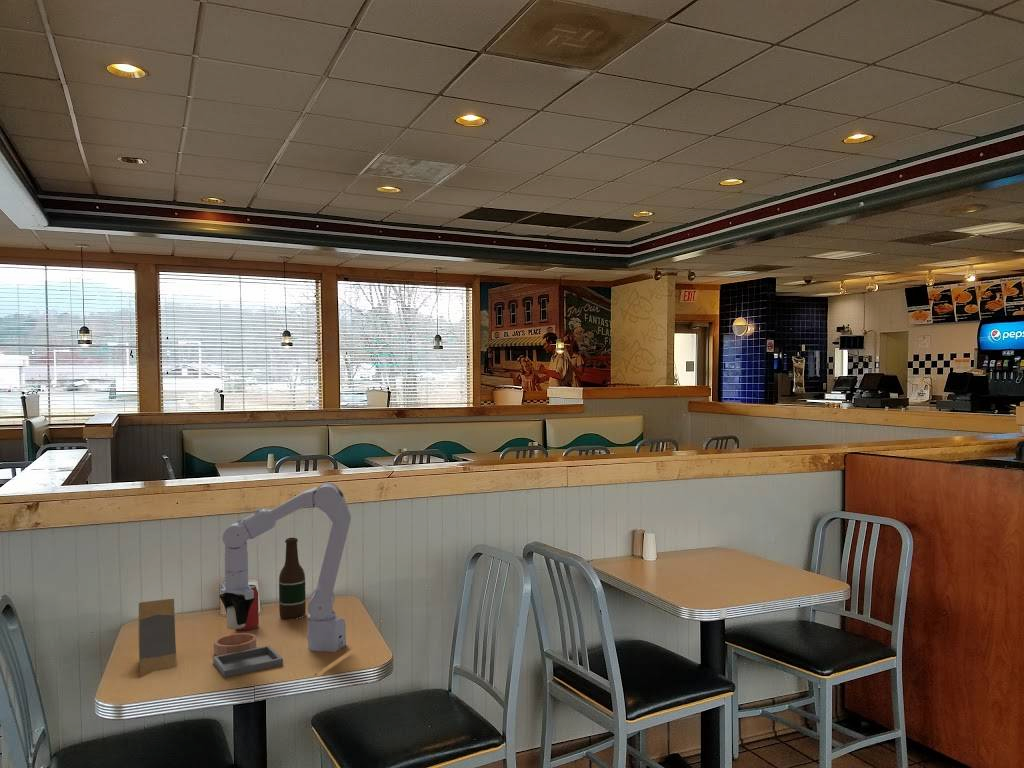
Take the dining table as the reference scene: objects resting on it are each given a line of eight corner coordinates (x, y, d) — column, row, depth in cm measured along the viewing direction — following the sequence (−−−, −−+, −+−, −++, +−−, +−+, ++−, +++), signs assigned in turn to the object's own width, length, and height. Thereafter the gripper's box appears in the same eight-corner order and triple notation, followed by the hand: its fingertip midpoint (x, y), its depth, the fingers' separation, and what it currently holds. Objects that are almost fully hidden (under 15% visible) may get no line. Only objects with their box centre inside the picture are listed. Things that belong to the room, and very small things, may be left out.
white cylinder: (242, 628, 193) (241, 609, 193) (224, 629, 193) (224, 610, 193) (247, 623, 197) (247, 604, 197) (230, 624, 197) (230, 605, 197)
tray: (269, 655, 196) (269, 645, 196) (283, 669, 186) (282, 658, 186) (213, 667, 188) (213, 656, 188) (224, 682, 178) (224, 671, 178)
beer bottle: (279, 614, 233) (278, 537, 233) (305, 611, 235) (304, 535, 235) (279, 621, 225) (278, 541, 225) (306, 618, 227) (305, 539, 228)
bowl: (264, 648, 201) (264, 634, 201) (240, 662, 191) (239, 647, 191) (231, 645, 204) (231, 631, 204) (205, 659, 194) (205, 644, 194)
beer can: (251, 631, 216) (250, 590, 216) (230, 630, 217) (229, 589, 217) (263, 624, 222) (262, 584, 222) (243, 623, 223) (242, 583, 223)
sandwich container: (139, 679, 181) (138, 617, 181) (138, 660, 195) (138, 602, 195) (178, 673, 185) (177, 612, 185) (175, 654, 198) (174, 597, 199)
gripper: (209, 568, 197) (209, 620, 197) (235, 577, 188) (235, 631, 187) (234, 563, 203) (235, 614, 202) (261, 572, 193) (261, 624, 193)
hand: (237, 622), depth 195 cm, fingers closed on white cylinder, 4 cm apart
